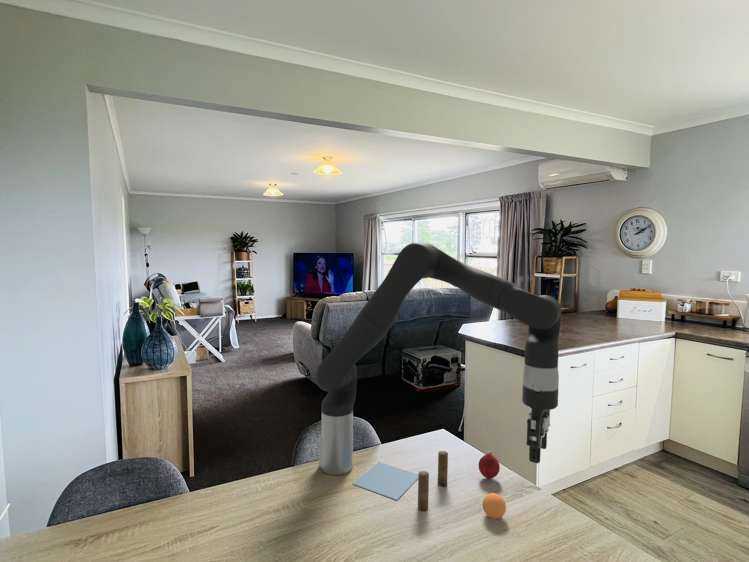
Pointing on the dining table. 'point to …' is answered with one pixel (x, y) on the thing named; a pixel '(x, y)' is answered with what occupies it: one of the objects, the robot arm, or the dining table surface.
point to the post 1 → (423, 490)
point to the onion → (489, 466)
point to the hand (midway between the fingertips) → (538, 454)
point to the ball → (494, 505)
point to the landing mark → (387, 480)
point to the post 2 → (442, 468)
